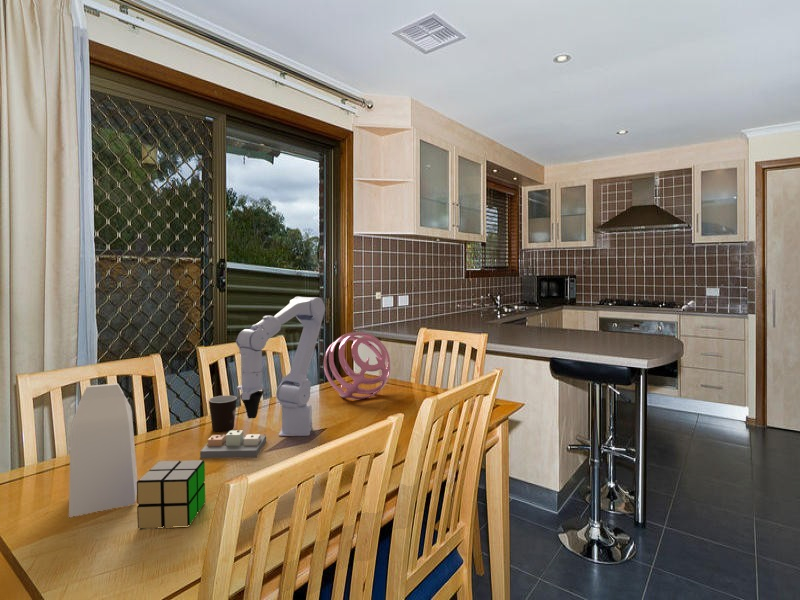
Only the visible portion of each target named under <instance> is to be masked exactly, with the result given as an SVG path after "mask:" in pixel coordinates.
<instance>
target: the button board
mask: <svg viewBox="0 0 800 600" xmlns="http://www.w3.org/2000/svg"><path fill="white" fill-rule="evenodd" d="M246 435H247V434H245V435H244V434H243V443H242V444H241V445H240V446H226V443H225V444H224V445H223V446H208V442H207V443H206V444H205V445H204V447H203V448H202V449H201V450H200V451H199V455H200V456H199V458H200V459H236V458H237V459H239V458H243V459H244V458H247V459H248V458H251V459H252V458H257V457H258V455H260V452H261V451H262V449H263V447H264V446H265V444H266V443H267V434H261V442H260V444H259V445H250V446H244V438H245V437H246Z"/></svg>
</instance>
